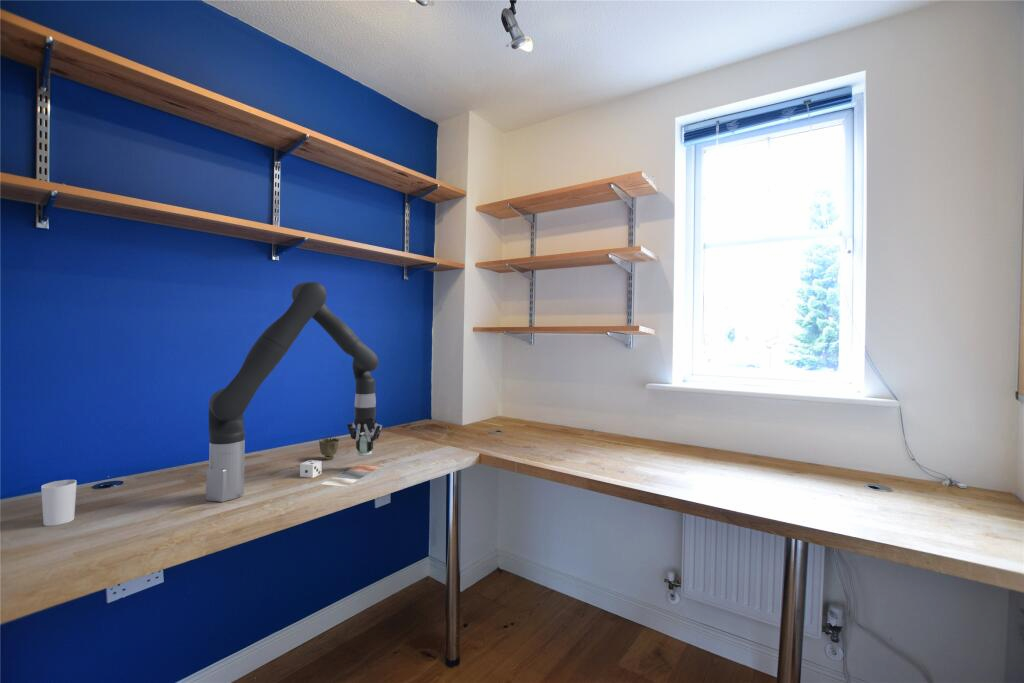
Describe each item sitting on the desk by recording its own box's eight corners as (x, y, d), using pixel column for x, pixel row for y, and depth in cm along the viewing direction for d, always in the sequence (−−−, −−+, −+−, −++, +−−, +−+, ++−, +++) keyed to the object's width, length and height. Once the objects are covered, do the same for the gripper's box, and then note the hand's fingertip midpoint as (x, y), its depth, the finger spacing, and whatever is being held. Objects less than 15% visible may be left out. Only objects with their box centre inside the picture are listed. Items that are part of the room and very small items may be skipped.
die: (312, 479, 157) (312, 464, 156) (299, 478, 158) (300, 463, 157) (321, 474, 161) (321, 460, 161) (309, 473, 162) (309, 459, 162)
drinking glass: (83, 515, 122) (83, 479, 122) (62, 525, 116) (63, 487, 116) (55, 516, 121) (55, 480, 121) (33, 527, 115) (33, 488, 114)
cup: (331, 462, 177) (331, 442, 177) (314, 460, 179) (315, 440, 179) (342, 457, 184) (342, 438, 184) (326, 456, 186) (326, 436, 186)
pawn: (367, 455, 165) (367, 436, 165) (354, 455, 166) (354, 435, 166) (374, 452, 170) (374, 433, 170) (361, 451, 172) (362, 432, 171)
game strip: (346, 488, 147) (346, 487, 147) (316, 485, 149) (316, 484, 149) (383, 467, 172) (383, 466, 172) (357, 464, 174) (357, 463, 174)
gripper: (342, 405, 166) (341, 452, 166) (377, 407, 163) (376, 454, 163) (353, 402, 173) (353, 447, 174) (387, 404, 170) (386, 449, 171)
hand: (364, 450), depth 168 cm, fingers closed on pawn, 3 cm apart
